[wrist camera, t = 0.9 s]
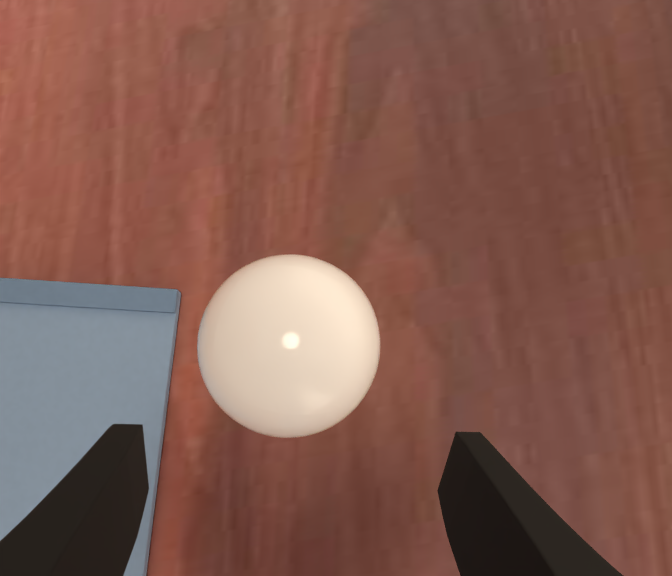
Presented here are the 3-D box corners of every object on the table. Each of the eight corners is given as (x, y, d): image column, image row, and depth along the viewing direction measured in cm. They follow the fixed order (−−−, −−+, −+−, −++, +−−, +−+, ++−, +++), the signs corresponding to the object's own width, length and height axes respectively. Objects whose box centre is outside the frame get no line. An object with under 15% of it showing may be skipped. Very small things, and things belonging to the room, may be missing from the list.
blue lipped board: (125, 744, 20) (118, 760, 19) (-173, 745, 19) (-195, 763, 18) (181, 292, 24) (177, 289, 23) (-61, 276, 23) (-75, 272, 22)
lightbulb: (214, 403, 23) (145, 419, 12) (249, 284, 25) (213, 206, 14) (336, 433, 23) (372, 474, 13) (364, 313, 25) (416, 258, 14)
